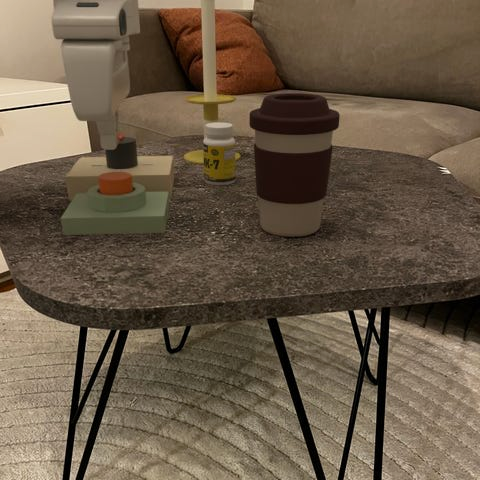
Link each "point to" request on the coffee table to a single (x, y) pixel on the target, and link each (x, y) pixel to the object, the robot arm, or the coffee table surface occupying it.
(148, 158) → the panel
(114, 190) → the power button
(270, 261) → the coffee table surface
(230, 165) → the supplement bottle
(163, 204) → the button housing
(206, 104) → the candle
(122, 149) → the knob
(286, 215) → the coffee cup
